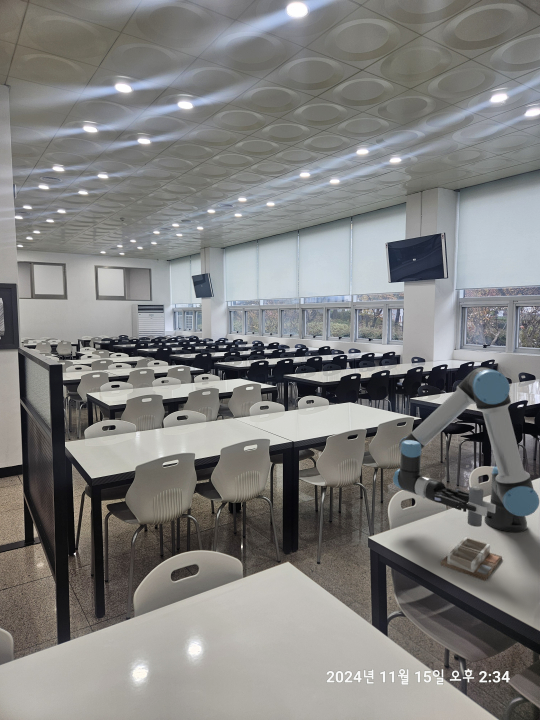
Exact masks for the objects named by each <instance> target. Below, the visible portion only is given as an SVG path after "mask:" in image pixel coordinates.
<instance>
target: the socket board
mask: <svg viewBox="0 0 540 720" xmlns="http://www.w3.org/2000/svg"><path fill="white" fill-rule="evenodd" d="M490 549H491V544H490V543H487V542H484V541H480V540H477V539H473V538H470V537H467V536H465V537H463V539H462V540H461V541H460V542H459V543H457V545H456V546H454V548H453V549H452V550H450V552H449V553H447V555H446V557H443V559H442V560H441V561H440V565H441V566H443V567H446V568H450V569H452V570H455V571H458V572H460V573H463V574H465V575H469V576H472V577H475V578H477V579H479V580H483V581H487V580H488V578H489V577H490V576H491V574H492V573H493V572H494V571H495V570H496V568H497V566H498V565H499V564H500V563H501V561H502V560H503V556H502V555H500V554H496V553H493V552H491V551H490Z"/></svg>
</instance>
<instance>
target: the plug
mask: <svg viewBox="0 0 540 720" xmlns="http://www.w3.org/2000/svg"><path fill="white" fill-rule="evenodd" d="M468 493H469V502H471V503H474V504H477V505H480V506H483V501H484V489H482V487H480V486H476V485H473V486H472V487H469V489H468ZM482 522H483V515H480V514H477V513H474V512H472V511H469V510H467V524H468V525H469V526H471V527H477V528H478V527H482V525H483V523H482Z"/></svg>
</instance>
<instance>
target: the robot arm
mask: <svg viewBox="0 0 540 720" xmlns="http://www.w3.org/2000/svg"><path fill="white" fill-rule="evenodd" d="M510 386H511V385H510V382H509V380H508V378H507V377H506V376H505V375H504V374H503V373H502V372H500V371H498V370H496V369H493V368H490V367H485V366H484V367H483V366H482V367H477V368H475V369H473V370H472V371H471V372H470V373H469V374H468V375H467V376H466V377H464V378H463V380H462V381H461V382H460V383H459V384H457V386H456V390H455V391H454V392H453V393H452V394H451V395H450V396H449V397H448V398H447V399H446V400H445V401H443V402H442V403H441V404H440V405H439V406H438V407H437V408H436V409H435V410H433V412H432V413H430V415H428V416H427V417H426V418H425V419H424V420H423V421H422V422H421V423H420V424H419V425H418V426H417V427H416V428H415V429H413V431H411V433H409V434H408V435H407V436H404V437H403V438H401V439H400V441H399V443H398V448H399V455H400V465H399V466H400V468H398V469H396V471H394V475H393V477H392V482H393V484H394V486H395V487H397V488H399V489H401V490H403V491H405V492H408V493H410V494H414V495H417V496H420V497H421V498H422V499H427V500H429V501H432V502H434V503H438V504H442V505H444V506H448V507H450V508H453V509H455V510H458V511H462V512H465V513H466V512H467V511H468V510H469V511H472V512H474V513H477V514H480V515H482V517H484V523H485V524H486V525H488V526H489V527H491V528H494V529H496V530H499V531H505V532H509V533H520V532H524V531H527V528H528V527H527V526H528V521H527V517H526V516H530V515H532V514H534V513H535V512H536V511H537V510H538V508H539V505H540V497H539V495H538V492H537V491H536V490H535V489H534V485H533V482H532V481H533V480H532V477H531V474H530V473H529V472H527V471H526V470H525V469H524V465H523V462H522V459H521V454H520V450H519V446H518V444H517V443H518V442H517V439H516V435H515V431H514V426H513V424H512V419H511V416H510V411H509V406H510V405H511V404H512V402H511V401H512V400H511V396H510V392H511V391H510V390H511V389H510ZM474 404H475V406H476V409H477V410H478V411H480V412H481V413H482V415H483V419H484V423H485V427H486V430H487V434H488V438H489V442H490V446H491V449H492V454H493V458H494V462H495V466H493V468H492V471H491V472H492V473H491V487H490V502H488V501H485V500H483V506H480V505H477V504H474V503H471V502H469V491H464V490H462V489H460V488H458V487H456V488H455V489H452V488H450V487H446V485H445V484H444V483H443V482H442V481H440V480H436V479H433V478H431V477H428V476H425V475H421V465H422V464H421V460H422V450H423V449H424V448H425V447H426V446H427V445H428V444H429V443H430V442H431V441H433V440H434V438H436V437H437V436H438V435H439V434H441V432H442V431H443V430H444V429H446V427H448V426H449V425H450V424H451V423H452V422H453V421H454V420H455V419H457V417H459V416H460V415H461V414H463V412H464V411H466V409H468V407H470V406H471V405H474Z"/></svg>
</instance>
